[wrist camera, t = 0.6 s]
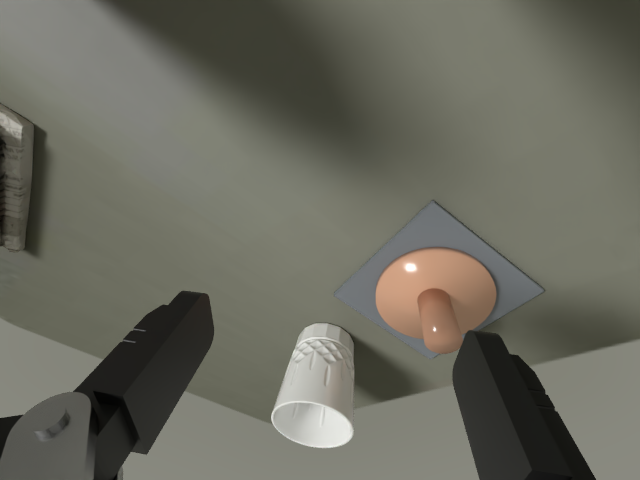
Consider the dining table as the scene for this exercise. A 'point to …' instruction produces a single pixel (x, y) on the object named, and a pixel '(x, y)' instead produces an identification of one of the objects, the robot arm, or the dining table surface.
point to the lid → (435, 296)
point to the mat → (437, 232)
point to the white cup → (318, 389)
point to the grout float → (15, 177)
